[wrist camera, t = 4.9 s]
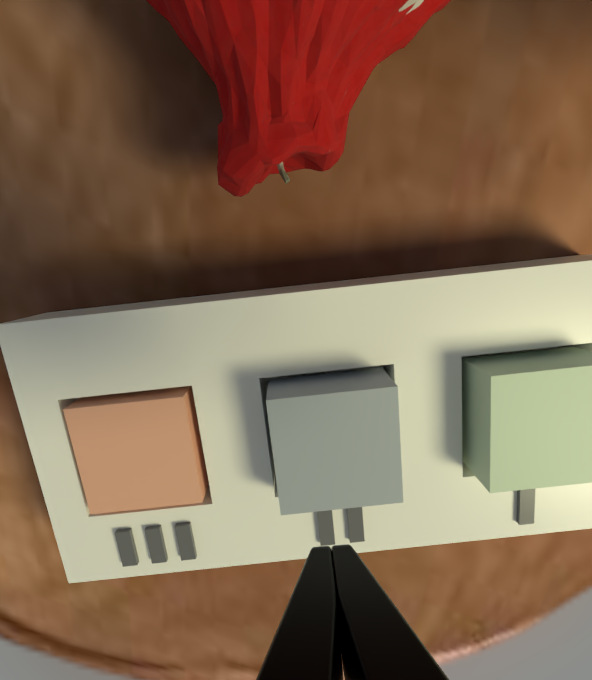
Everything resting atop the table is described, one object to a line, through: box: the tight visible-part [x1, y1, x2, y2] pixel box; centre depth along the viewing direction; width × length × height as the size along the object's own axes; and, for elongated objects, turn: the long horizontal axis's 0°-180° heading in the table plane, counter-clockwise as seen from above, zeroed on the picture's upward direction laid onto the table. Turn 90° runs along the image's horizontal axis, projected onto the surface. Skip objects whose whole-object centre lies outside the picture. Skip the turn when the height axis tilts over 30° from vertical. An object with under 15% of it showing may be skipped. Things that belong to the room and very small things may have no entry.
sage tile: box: [462, 347, 592, 493], centre depth 14 cm, size 4×4×2 cm
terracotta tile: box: [63, 386, 209, 514], centre depth 15 cm, size 4×4×2 cm
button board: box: [0, 255, 592, 583], centre depth 16 cm, size 23×11×3 cm, turn 96°
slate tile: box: [266, 367, 403, 515], centre depth 14 cm, size 4×4×2 cm
